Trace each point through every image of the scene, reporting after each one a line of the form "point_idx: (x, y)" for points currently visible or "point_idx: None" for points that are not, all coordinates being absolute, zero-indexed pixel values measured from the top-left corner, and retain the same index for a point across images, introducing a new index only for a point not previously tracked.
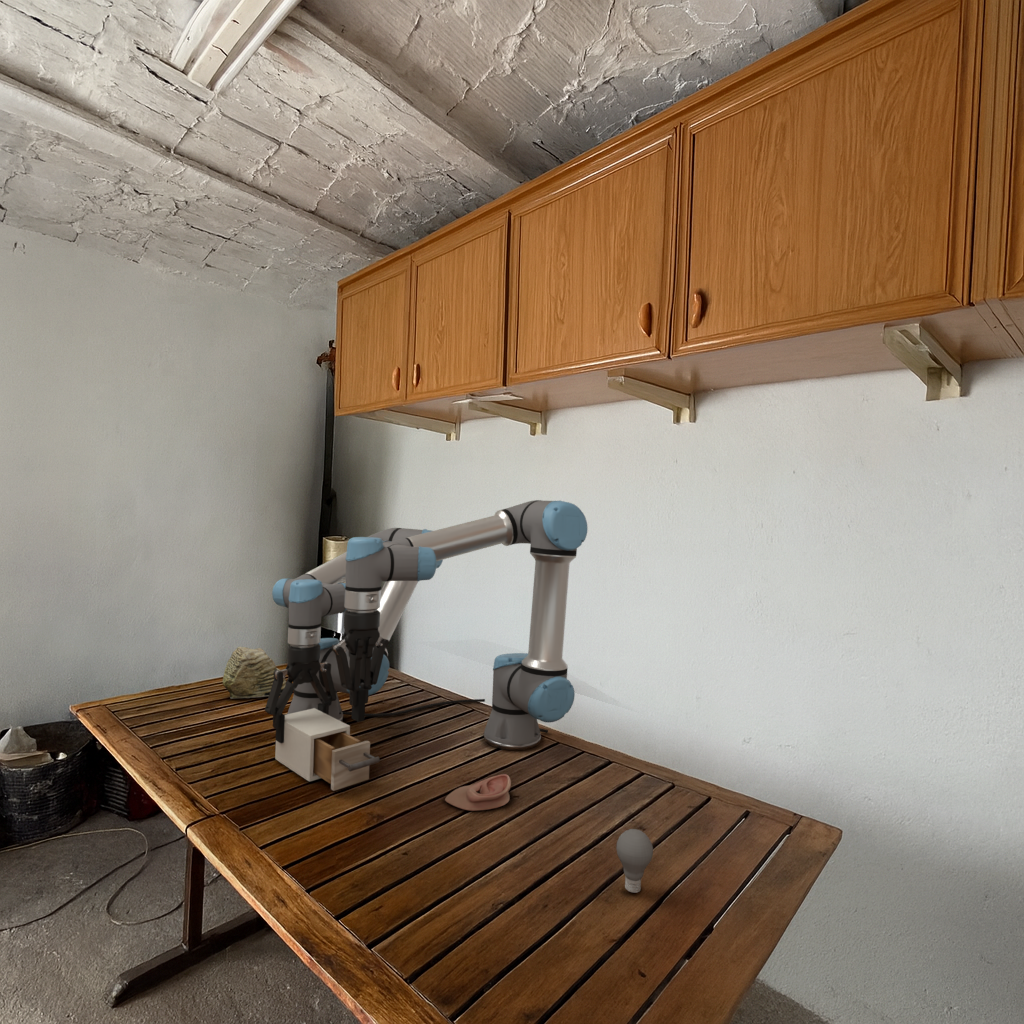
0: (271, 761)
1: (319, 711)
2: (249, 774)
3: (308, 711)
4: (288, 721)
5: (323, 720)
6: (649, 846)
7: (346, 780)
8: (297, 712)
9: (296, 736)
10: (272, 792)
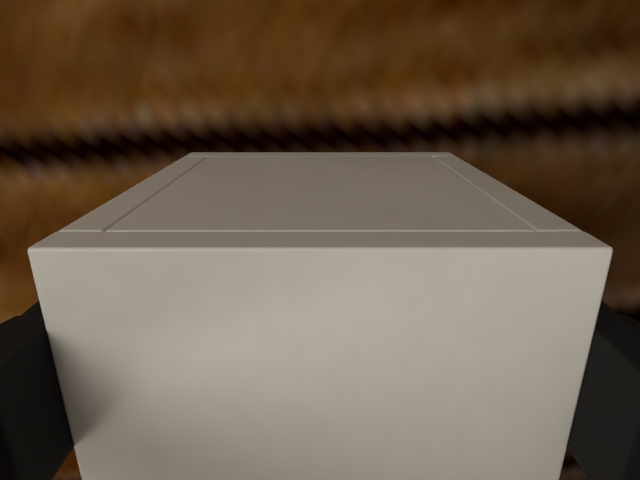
0: (161, 169)
1: (561, 399)
2: (9, 254)
3: (464, 323)
4: (109, 473)
5: None
6: None
7: None
8: (331, 273)
9: None
10: (65, 464)
